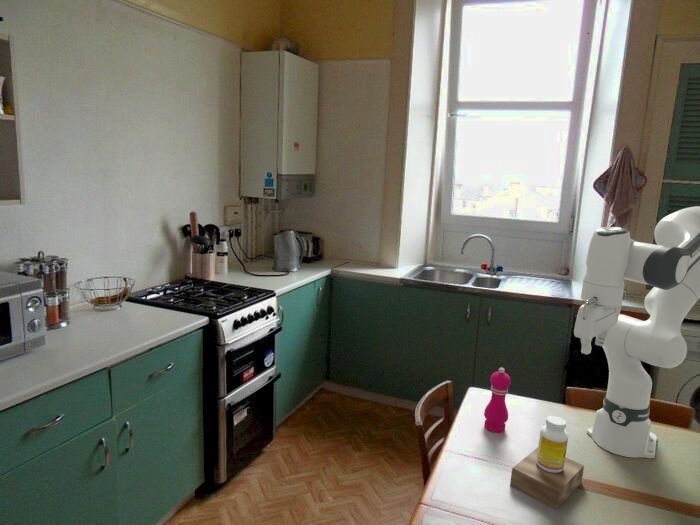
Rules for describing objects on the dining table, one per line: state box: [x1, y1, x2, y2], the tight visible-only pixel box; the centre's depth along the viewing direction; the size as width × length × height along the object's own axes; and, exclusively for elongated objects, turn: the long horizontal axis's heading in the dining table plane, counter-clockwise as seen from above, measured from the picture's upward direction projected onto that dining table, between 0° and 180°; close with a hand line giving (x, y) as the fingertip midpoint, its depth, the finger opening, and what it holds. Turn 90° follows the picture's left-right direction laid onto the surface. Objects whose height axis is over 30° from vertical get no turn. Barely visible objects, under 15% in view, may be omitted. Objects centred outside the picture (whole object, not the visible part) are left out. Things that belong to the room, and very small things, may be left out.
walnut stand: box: [509, 447, 585, 510], centre depth 130 cm, size 16×12×5 cm
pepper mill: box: [483, 367, 512, 434], centre depth 156 cm, size 7×7×20 cm
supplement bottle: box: [536, 415, 569, 473], centre depth 128 cm, size 7×7×13 cm
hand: (592, 349), depth 124 cm, fingers open, 8 cm apart
